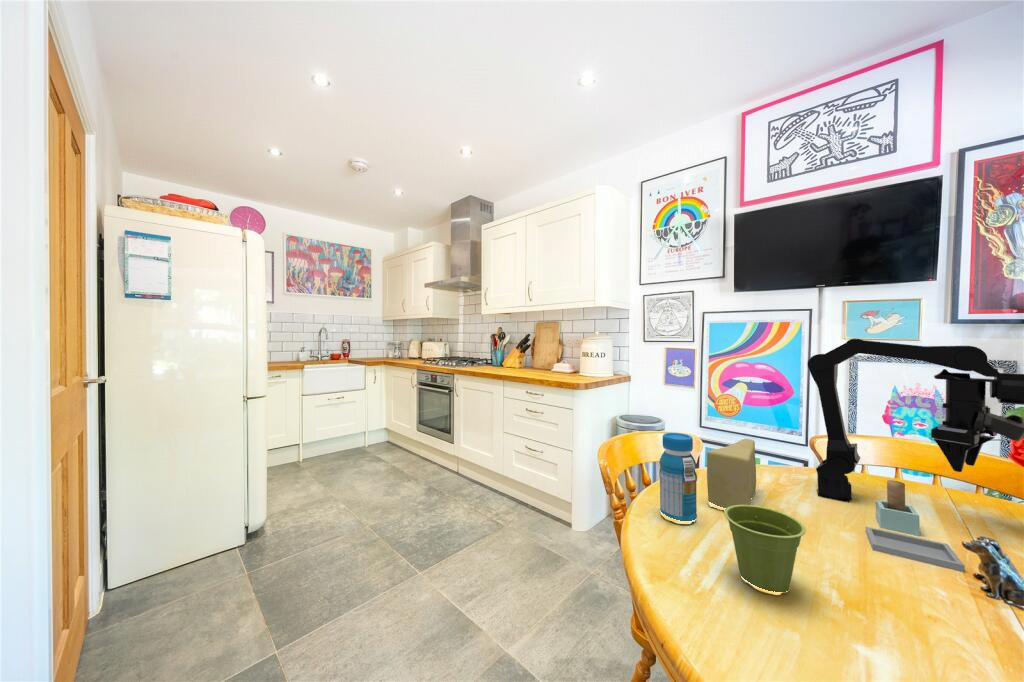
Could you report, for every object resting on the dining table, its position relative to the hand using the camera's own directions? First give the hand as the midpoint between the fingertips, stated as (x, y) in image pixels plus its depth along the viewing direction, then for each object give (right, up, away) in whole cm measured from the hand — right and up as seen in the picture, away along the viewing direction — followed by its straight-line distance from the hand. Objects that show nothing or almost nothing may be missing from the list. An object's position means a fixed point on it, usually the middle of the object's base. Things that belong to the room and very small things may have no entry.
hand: (964, 468), depth 83 cm
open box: (-16, -14, 0) cm, 21 cm away
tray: (-23, -14, -10) cm, 29 cm away
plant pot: (-59, -14, -19) cm, 64 cm away
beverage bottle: (-63, -14, +5) cm, 65 cm away
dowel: (-16, -13, 0) cm, 21 cm away
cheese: (-41, -14, +15) cm, 47 cm away
